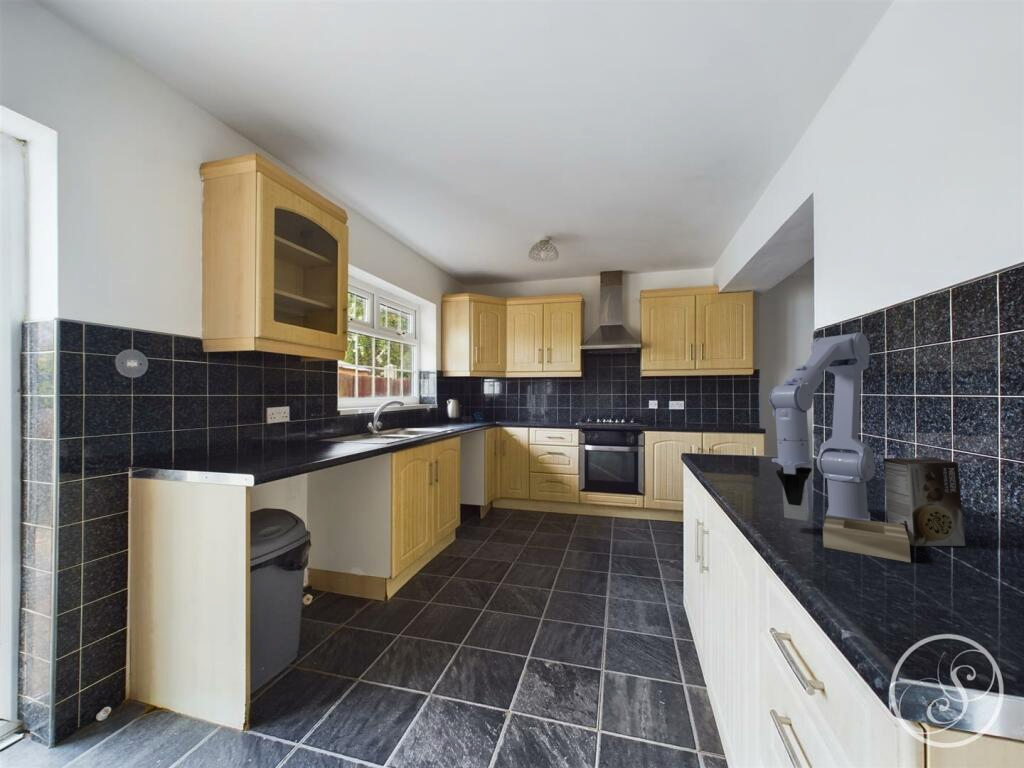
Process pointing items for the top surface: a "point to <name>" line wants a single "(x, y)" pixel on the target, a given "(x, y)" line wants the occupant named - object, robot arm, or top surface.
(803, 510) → the grey brushed square bar
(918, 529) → the coffee box
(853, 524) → the block
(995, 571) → the top surface
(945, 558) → the top surface
